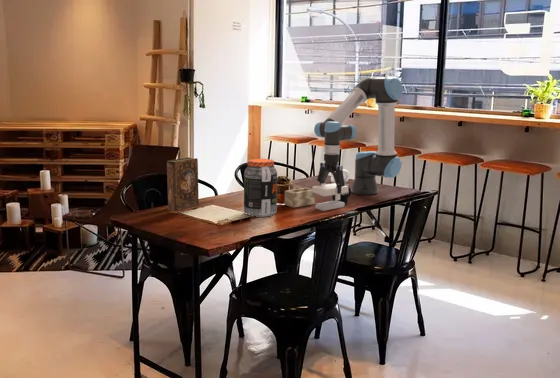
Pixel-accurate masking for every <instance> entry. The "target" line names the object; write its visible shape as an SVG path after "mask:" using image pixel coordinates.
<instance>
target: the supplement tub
mask: <svg viewBox="0 0 560 378" xmlns="http://www.w3.org/2000/svg"><path fill="white" fill-rule="evenodd" d="M277 204H278V171H277V168H275V160H273V159H269V158H251V159H248V160H247V167H246V168H245V170H244V173H243V212H244V214H245V213H247V214H250V215H253V216H252V217H254V216H256V217H255V218H263V217H264V218H266V217H272V216H274V215H275V214H277V209H278V205H277ZM247 214H246V215H247Z"/></svg>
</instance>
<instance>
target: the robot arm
mask: <svg viewBox="0 0 560 378" xmlns="http://www.w3.org/2000/svg"><path fill="white" fill-rule="evenodd" d="M403 91H404V90H403V84H402V83H401V81H400V79H399V78H397V77H395V76H369V77H367V78H364V79H362V80H361V81H360V82H358V83H357V84H355V86H354V87H353V88H352V89H351V91H350V94H349V95H348V96H347V97H346V98H345V99H344V100H343V101H342V102H341V103H340V104H339V106H338V107H336V108H335V110H334V111H333V112H332V113H331V114H330V115H329V116H328V117H327V118H326V119H325V120H324V121H321V122H320V121H319V122H317V123H316V124H315V125H314V127H313V130H314V134H315V136H316V137H319V138H324V144H323V145H324V146H323V148H324V149H323V153H324V154H323V162H320V163H319V166H320V167H319V171H318V174H317V178H316V180H317V182H319V185H326V184H327V183H326V180H327V178H328V176H329V174H330V173H332V175H333V176H334V179H335V183H336V185H337V186H336V189H335V200H340V194H341V187H342V186H345V183H346V182H345V183H344V177H343V170H344V167H343V165H339V162H340V151H341V149H340V147H341V145H340V144H341V143H340V142H341V141H347V140H348V141H350V140H354V139H355V138H356V137H357V134H358V130H357V128H356V126H355V125H354V124H349V123H347V124H343V123H344V122H345V121H346V120H347V119H348V118H349V117H350V116H351V115H352V114H353V112H354V111H356V110H357V108H358V107H359V106H360V105H361V104H363V103H366V101H367V100H369V99H370V100H371V99H375V104H376V105H377V106H378V107H377V109H378V110H377V111H378V114H377V115H378V117H377V120H378V121H377V123H378V124H377V127H378V129H377V132H378V134H377V140H378V141H377V142H378V143H377V147H378V148H377V151H375V150H372V151H358V152H356V154H355V159H354V161H355V164H354V179H353V182H352V186H351V188H350V189H351V193H352V194H359V195H375V194H378V192H379V187H378V185H377V179H376V176H377V177H382V178H387V179H388V178H389V179H393V178H395V177H397V176H398V175H399V173H400V171H401V168H402V160H401V158H400V157H398V152H397V151H396V150H395V119H396V118H395V115H396V113H395V111H396V109H395V107H396V105H397V104H398V100H399V99H401V97H402V95H403ZM332 175H331V176H332ZM319 196H320V197H323V196H321V195H319Z"/></svg>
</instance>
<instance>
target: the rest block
mask: <svg viewBox="0 0 560 378" xmlns="http://www.w3.org/2000/svg"><path fill="white" fill-rule="evenodd" d="M345 204H346V203H345V202H341V201H337V200H335V201H333V200H330V201H324V202H318V203H315V205H314V206H315V207H314V209H318V210H319V211H323V212H324V211H329V210H334V209H341V208H344V207H345Z"/></svg>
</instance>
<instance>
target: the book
mask: <svg viewBox="0 0 560 378" xmlns="http://www.w3.org/2000/svg"><path fill="white" fill-rule="evenodd" d="M198 162H199V160H198V158H191V157H189V156H188V157H183V158H177V159H170V160H166V177H167V179H166V181H167V211H168V210H170V211H179V210H183V209H187V208H192V207H196V206H198V207H199V205H200V204H199V200H200V199H199V163H198Z"/></svg>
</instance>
